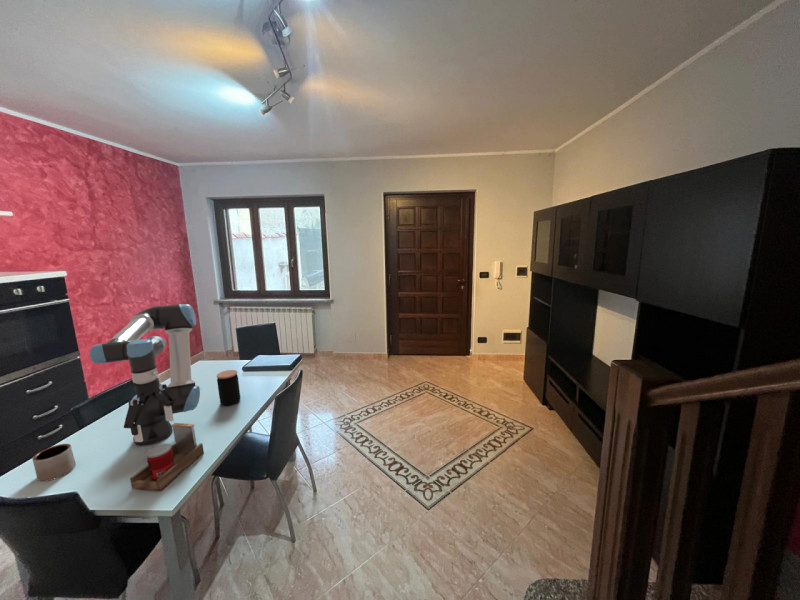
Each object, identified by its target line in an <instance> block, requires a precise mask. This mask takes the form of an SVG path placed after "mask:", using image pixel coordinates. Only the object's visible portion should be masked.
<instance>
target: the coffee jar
mask: <svg viewBox="0 0 800 600" xmlns="http://www.w3.org/2000/svg"><path fill="white" fill-rule="evenodd" d="M216 378H217V379H216V382H217V390H218V398H219V403H220V405H222V407H224V406H225V407H229V406H234V405H236V404H237V403H239V402H240V400H241V390H240V384H239V376H238V370H235V369H228V370H223V371H220V372H218V373H217V374H216Z"/></svg>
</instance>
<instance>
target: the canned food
mask: <svg viewBox="0 0 800 600" xmlns="http://www.w3.org/2000/svg"><path fill="white" fill-rule="evenodd" d="M171 446H172V445H171V443H162V444H159V445H156V446H153V447H152V448H150V449H149V450H148V451H147V452H146V460H147V465H148V466H149V472H150V477H151V479H152V480H157V479H158V478H160V477H161V476H162V475H163V474H164V473H165V472H167V471H168V470H169V469H170V468H171V467H173V466H174V459H173V453H172V447H171Z"/></svg>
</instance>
